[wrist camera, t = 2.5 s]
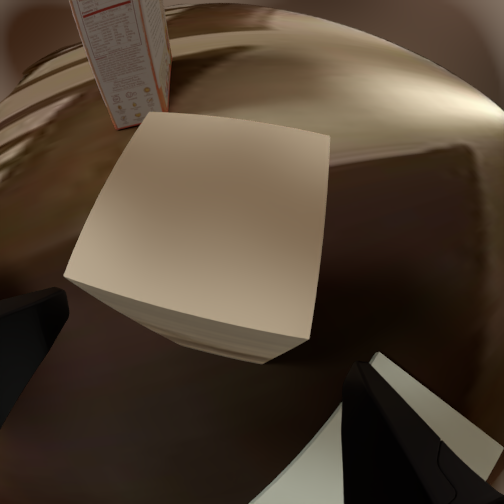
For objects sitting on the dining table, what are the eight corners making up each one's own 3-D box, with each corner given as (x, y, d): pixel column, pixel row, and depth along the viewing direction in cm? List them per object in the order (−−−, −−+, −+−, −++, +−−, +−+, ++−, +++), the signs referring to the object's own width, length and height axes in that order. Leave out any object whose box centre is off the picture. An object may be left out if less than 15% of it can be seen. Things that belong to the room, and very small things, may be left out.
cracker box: (130, 69, 30) (103, -62, 11) (173, 60, 31) (158, -76, 11) (111, 134, 24) (52, -53, 5) (169, 121, 25) (135, -83, 6)
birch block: (261, 364, 17) (309, 339, 5) (182, 345, 17) (63, 276, 5) (276, 288, 19) (330, 136, 7) (202, 272, 19) (149, 111, 7)
